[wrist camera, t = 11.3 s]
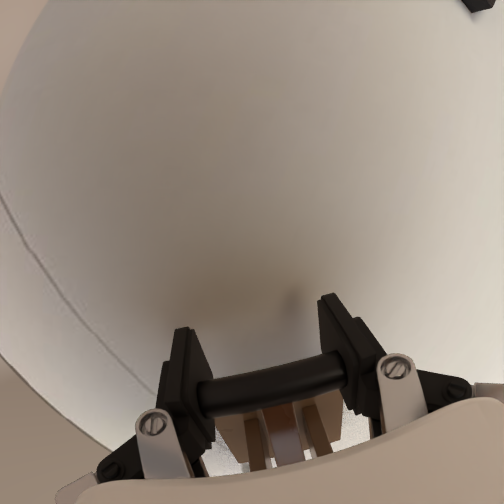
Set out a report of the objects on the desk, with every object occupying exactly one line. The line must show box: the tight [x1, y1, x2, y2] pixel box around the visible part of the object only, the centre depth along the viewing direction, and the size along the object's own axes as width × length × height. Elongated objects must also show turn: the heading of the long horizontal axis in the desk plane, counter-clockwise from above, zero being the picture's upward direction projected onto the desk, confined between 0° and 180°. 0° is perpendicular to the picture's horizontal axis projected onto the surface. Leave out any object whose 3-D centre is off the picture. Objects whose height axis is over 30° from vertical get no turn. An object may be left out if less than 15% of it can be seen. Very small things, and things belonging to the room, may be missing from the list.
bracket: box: [215, 390, 343, 472], centre depth 13 cm, size 10×9×13 cm
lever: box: [197, 350, 348, 467], centre depth 9 cm, size 14×5×2 cm, turn 11°
